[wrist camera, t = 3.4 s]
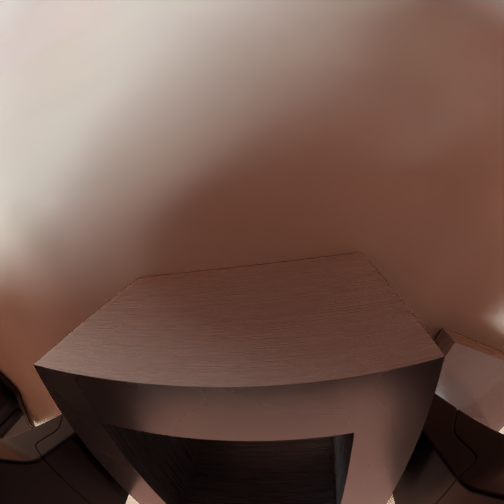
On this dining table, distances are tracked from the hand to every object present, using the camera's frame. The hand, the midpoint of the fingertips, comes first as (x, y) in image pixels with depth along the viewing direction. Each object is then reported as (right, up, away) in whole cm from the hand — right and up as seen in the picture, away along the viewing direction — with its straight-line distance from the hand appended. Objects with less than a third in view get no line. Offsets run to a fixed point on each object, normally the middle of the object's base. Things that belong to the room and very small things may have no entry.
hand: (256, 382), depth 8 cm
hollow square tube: (0, 0, +1) cm, 1 cm away
